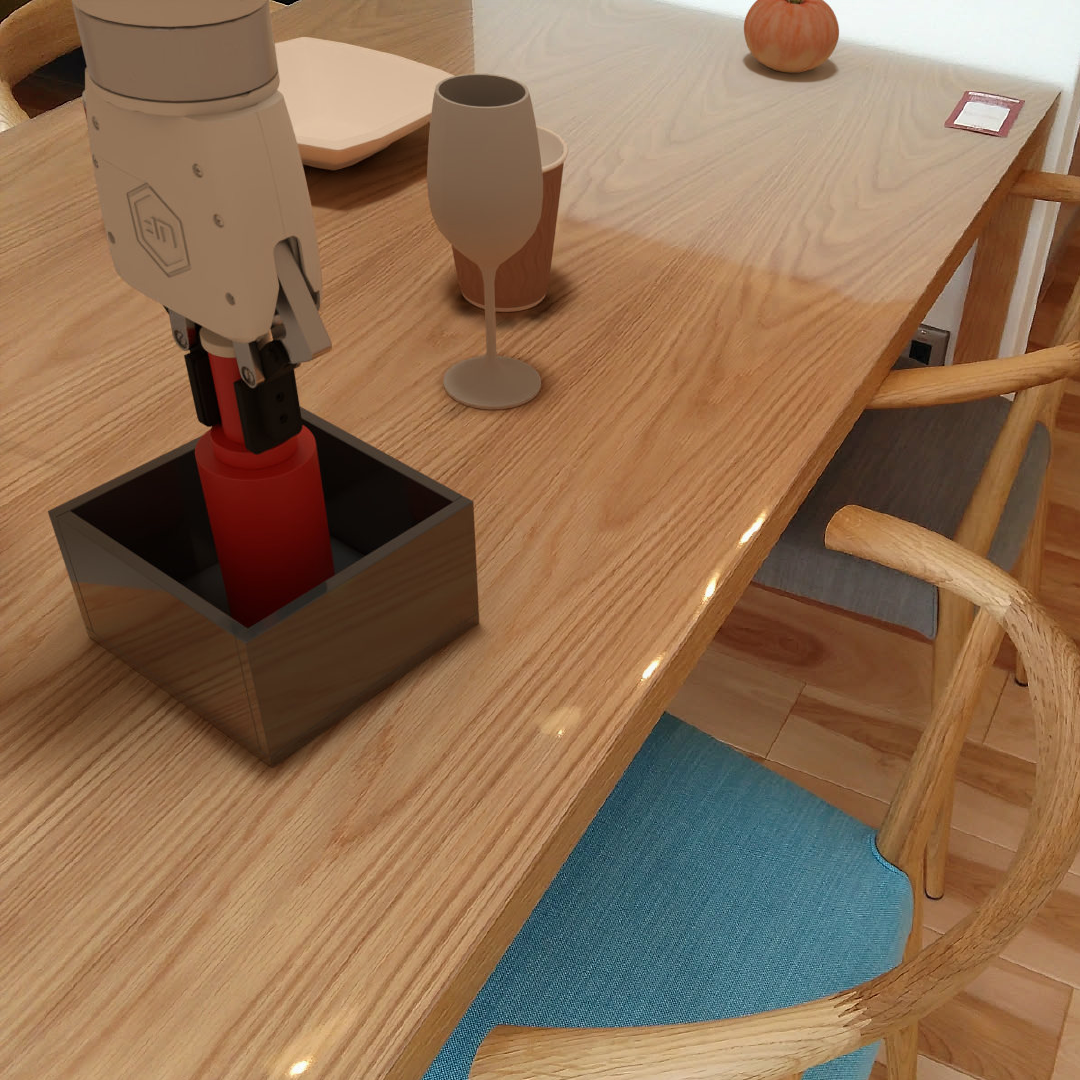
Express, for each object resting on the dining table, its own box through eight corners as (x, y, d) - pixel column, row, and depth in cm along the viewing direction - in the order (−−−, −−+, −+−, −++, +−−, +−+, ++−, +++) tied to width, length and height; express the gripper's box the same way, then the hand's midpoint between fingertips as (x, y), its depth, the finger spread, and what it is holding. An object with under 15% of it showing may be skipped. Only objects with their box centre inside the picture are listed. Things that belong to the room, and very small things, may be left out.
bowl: (494, 140, 129) (492, 80, 125) (345, 224, 114) (338, 158, 110) (312, 87, 136) (304, 28, 132) (147, 159, 120) (134, 95, 116)
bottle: (208, 611, 74) (141, 330, 62) (291, 562, 78) (243, 288, 66) (279, 658, 72) (224, 376, 60) (361, 605, 76) (325, 329, 64)
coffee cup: (587, 281, 110) (590, 137, 101) (531, 335, 102) (529, 184, 94) (478, 252, 112) (473, 108, 104) (416, 302, 105) (404, 153, 96)
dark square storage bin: (88, 636, 74) (46, 510, 68) (301, 515, 84) (281, 395, 78) (272, 768, 68) (245, 643, 62) (479, 622, 78) (473, 501, 72)
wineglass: (565, 384, 98) (567, 93, 83) (491, 423, 93) (480, 123, 79) (493, 346, 101) (483, 60, 86) (419, 382, 96) (395, 86, 82)
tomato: (741, 46, 155) (748, -28, 149) (831, 55, 155) (842, -18, 149) (739, 79, 147) (747, 2, 141) (835, 88, 147) (846, 11, 142)
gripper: (-20, 14, 55) (88, 397, 68) (238, 127, 48) (303, 526, 61) (133, -20, 59) (207, 345, 72) (387, 79, 53) (419, 460, 66)
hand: (250, 425), depth 67 cm, fingers closed on bottle, 2 cm apart
